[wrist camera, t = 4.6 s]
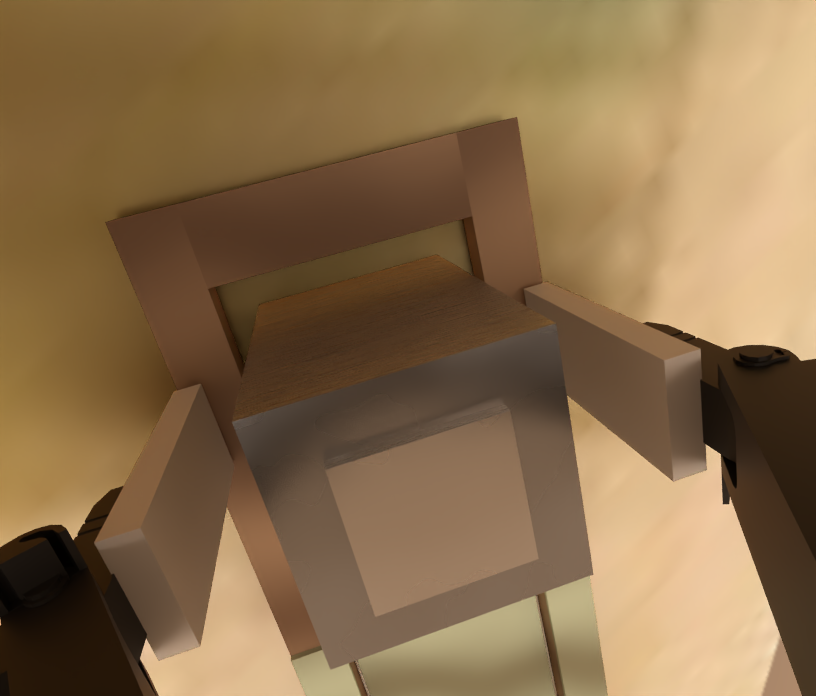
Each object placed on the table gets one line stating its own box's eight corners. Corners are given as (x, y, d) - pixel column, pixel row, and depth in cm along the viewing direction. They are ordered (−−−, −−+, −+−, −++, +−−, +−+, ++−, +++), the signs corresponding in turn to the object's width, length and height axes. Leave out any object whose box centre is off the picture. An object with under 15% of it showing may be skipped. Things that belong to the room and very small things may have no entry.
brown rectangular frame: (117, 219, 14) (102, 223, 13) (503, 119, 16) (519, 116, 15) (368, 817, 23) (372, 849, 22) (601, 724, 25) (616, 751, 24)
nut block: (259, 304, 16) (229, 430, 8) (436, 254, 17) (564, 328, 9) (313, 461, 18) (331, 683, 10) (471, 411, 18) (600, 584, 11)
